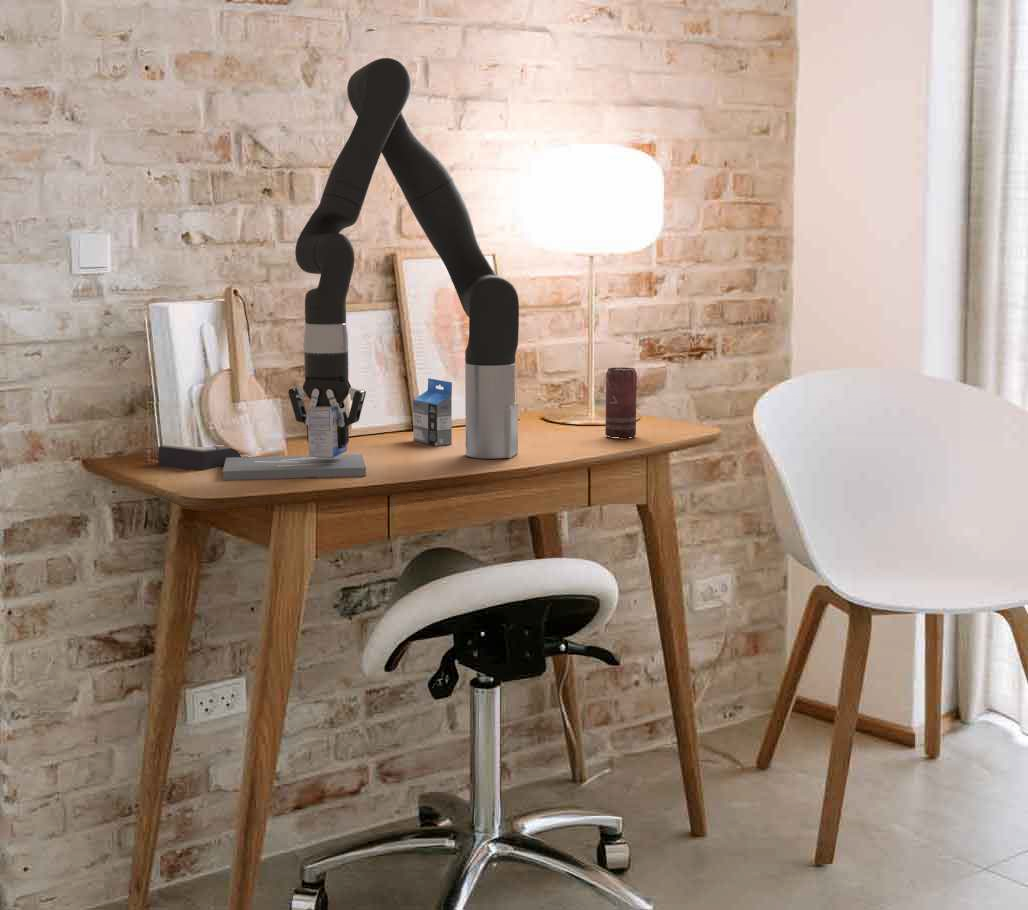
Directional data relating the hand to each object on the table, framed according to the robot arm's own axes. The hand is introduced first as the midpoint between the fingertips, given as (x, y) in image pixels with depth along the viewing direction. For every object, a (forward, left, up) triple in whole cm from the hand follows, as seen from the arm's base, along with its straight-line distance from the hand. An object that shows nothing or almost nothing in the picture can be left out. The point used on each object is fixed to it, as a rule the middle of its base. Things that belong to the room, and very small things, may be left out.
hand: (327, 446), depth 240 cm
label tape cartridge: (-9, -34, -4) cm, 35 cm away
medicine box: (0, 0, -2) cm, 2 cm away
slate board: (+5, +2, -4) cm, 7 cm away
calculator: (+24, -3, -5) cm, 25 cm away
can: (-44, -50, -4) cm, 66 cm away
